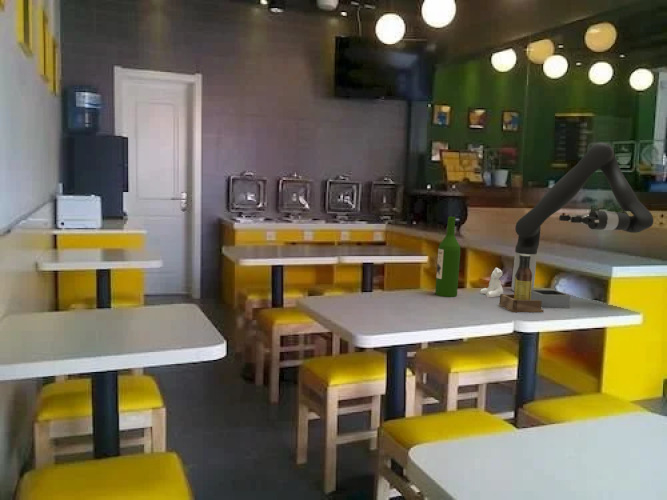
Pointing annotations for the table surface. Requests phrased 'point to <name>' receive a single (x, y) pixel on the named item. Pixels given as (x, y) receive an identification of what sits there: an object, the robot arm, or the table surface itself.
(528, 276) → the sauce bottle
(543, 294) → the grey open box
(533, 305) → the tray
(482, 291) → the white creature statuette
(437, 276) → the wine bottle
